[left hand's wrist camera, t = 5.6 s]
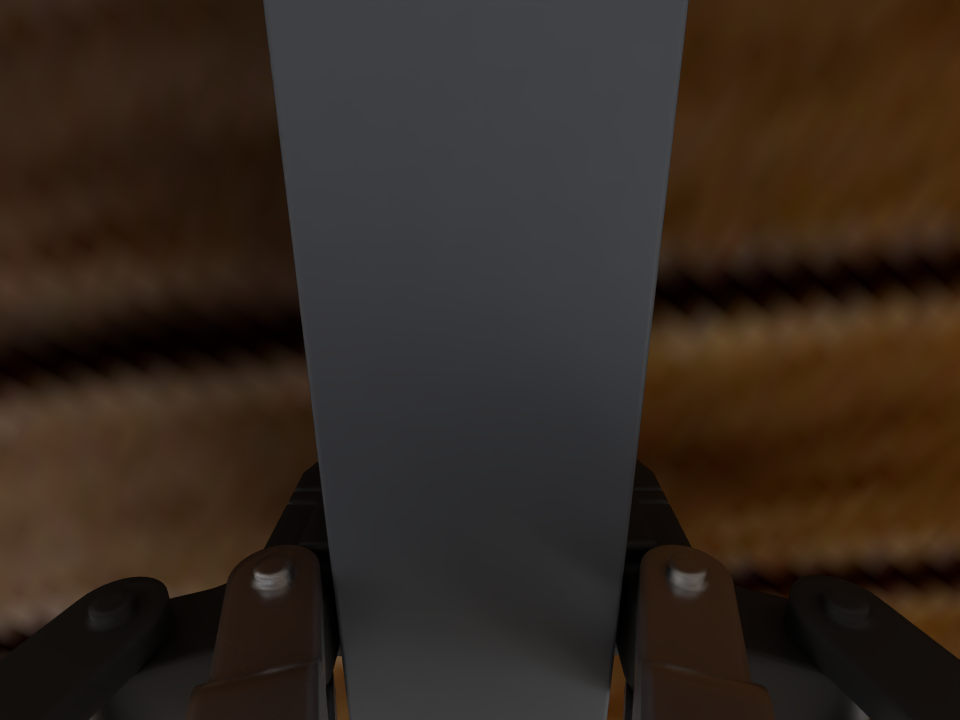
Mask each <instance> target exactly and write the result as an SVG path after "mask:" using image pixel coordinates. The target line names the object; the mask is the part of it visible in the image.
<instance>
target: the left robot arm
mask: <svg viewBox="0 0 960 720" xmlns="http://www.w3.org/2000/svg"><path fill="white" fill-rule="evenodd" d="M614 655H619V657H620V661H621V664H622V668H623V672H624V675H625V678H626V681H625V689H624V708H623V720H868V719H869V718H870V719H871V720H960V660H959V659H958V658H957V657H955V656H954V655H953V654H951V653H950V652H949V651H947V650H946V649H945V648H943V647H942V646H941V645H940V644H938V643H937V642H936V641H934V640H933V639H932V638H930V637H929V636H928V635H927V634H925V633H924V632H923V631H921V630H920V629H919V628H917V627H916V626H915V625H913V624H912V623H911V622H910V621H908V620H907V619H906V618H904V617H903V616H902V615H900V614H899V613H898V612H897V611H895V610H894V609H893V608H891V607H890V606H889V605H887V604H886V603H885V602H883V601H882V600H881V599H880V598H878V597H877V596H875V595H874V594H872V593H871V592H869V591H868V590H866V589H864V588H862V587H860V586H858V585H856V584H854V583H851V582H849V581H846V580H843V579H839V578H836V577H831V576H824V575H810V576H805V577H802V578H800V579H798V580H796V581H795V582H794V583H793V585H792V586H791V589H790V593H789V597H788V598H784V597H779V596H775V595H771V594H767V593H762V592H758V591H754V590H749V589H746V588H742V587H739V586H737V585H734V584H733V580H732V577H731V575H730V574H729V572H728V571H727V569H726V568H725V567H724V566H723V565H722V564H721V563H720V562H719V561H718V560H716V559H715V558H713V557H712V556H710V555H708V554H707V553H705V552H702V551H700V550H698V549H694V548H692V547H691V545H690V543H689V541H688V539H687V538H686V536H685V534H684V532H683V530H682V528H681V526H680V524H679V522H678V520H677V518H676V516H675V514H674V512H673V510H672V508H671V506H670V505H668V501H667V499H666V497H665V495H664V493H663V491H661V487H660V485H659V483H658V481H657V479H656V477H655V475H654V473H653V472H652V471H651V470H649V469H648V468H647V467H646V466H644V465H643V464H642V463H641V462H639V461H638V460H637V459H636V467H635V476H634V485H633V493H632V502H631V511H630V520H629V529H628V537H627V546H626V555H625V564H624V573H623V581H622V590H621V599H620V608H619V617H618V625H617V634H616V643H615V652H614ZM337 656H342V653H341V644H340V636H339V628H338V619H337V611H336V603H335V595H334V586H333V578H332V570H331V561H330V553H329V545H328V536H327V528H326V520H325V511H324V503H323V495H322V487H321V478H320V470H319V462H317V463H316V464H314V465H313V466H312V467H311V468H309V469H308V470H307V471H306V472H304V474H303V475H302V477H301V479H300V481H299V483H298V485H297V487H296V491H295V492H294V493H293V495H292V496H291V498H290V500H289V505H287V506H286V508H285V510H284V512H283V514H282V516H281V517H280V519H279V521H278V523H277V525H276V527H275V529H274V531H273V533H272V535H271V536H270V538H269V540H268V542H267V544H266V546H265V548H264V549H263V550H260V551H258V552H255V553H253V554H252V555H250V556H248V557H247V558H245V559H244V560H242V561H241V562H240V563H239V564H238V565H237V566H236V567H235V568H234V569H233V571H232V572H231V574H230V575H229V577H228V581H227V583H226V584H224V585H221V586H218V587H216V588H212V589H209V590H205V591H201V592H197V593H192V594H188V595H184V596H179V597H175V598H171V599H169V595H168V591H167V588H166V586H165V585H164V584H163V583H162V582H161V581H159V580H157V579H154V578H149V577H131V578H125V579H121V580H117V581H114V582H111V583H108V584H106V585H103V586H101V587H99V588H97V589H95V590H93V591H91V592H90V593H88V594H86V595H85V596H83V597H82V598H81V599H79V600H78V601H77V602H75V603H74V604H73V605H71V606H70V607H69V608H67V609H66V610H65V611H63V612H62V613H61V614H60V615H58V616H57V617H56V618H54V619H53V620H52V621H50V622H49V623H48V624H47V625H45V626H44V627H43V628H41V629H40V630H39V631H37V632H36V633H35V634H33V635H32V636H31V637H30V638H28V639H27V640H26V641H24V642H23V643H22V644H20V645H19V646H18V647H16V648H15V649H14V650H13V651H11V652H10V653H9V654H7V655H6V656H5V657H3V658H2V659H1V660H0V720H337V708H336V689H335V681H334V673H333V669H334V665H335V661H336V658H337Z"/></svg>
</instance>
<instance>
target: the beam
mask: <svg viewBox="0 0 960 720" xmlns="http://www.w3.org/2000/svg"><path fill="white" fill-rule="evenodd" d="M688 1H689V0H263V5H264V13H265V22H266V30H267V38H268V47H269V55H270V63H271V72H272V80H273V88H274V96H275V105H276V113H277V121H278V130H279V138H280V146H281V155H282V163H283V171H284V179H285V188H286V196H287V204H288V213H289V221H290V229H291V238H292V246H293V254H294V262H295V271H296V279H297V287H298V296H299V304H300V312H301V321H302V329H303V337H304V345H305V354H306V362H307V370H308V379H309V387H310V395H311V404H312V412H313V420H314V428H315V437H316V445H317V453H318V462H319V470H320V478H321V487H322V495H323V503H324V511H325V520H326V528H327V536H328V545H329V553H330V561H331V570H332V578H333V586H334V595H335V603H336V611H337V619H338V628H339V636H340V644H341V653H342V661H343V669H344V678H345V686H346V694H347V702H348V711H349V719H350V720H607V713H608V705H609V696H610V687H611V678H612V669H613V661H614V652H615V643H616V634H617V625H618V617H619V608H620V599H621V590H622V581H623V573H624V564H625V555H626V546H627V537H628V529H629V520H630V511H631V502H632V493H633V485H634V476H635V467H636V458H637V449H638V441H639V432H640V423H641V414H642V405H643V397H644V388H645V379H646V370H647V361H648V353H649V344H650V335H651V326H652V317H653V309H654V300H655V291H656V282H657V274H658V265H659V256H660V247H661V238H662V230H663V221H664V212H665V203H666V194H667V186H668V177H669V168H670V159H671V150H672V142H673V133H674V124H675V115H676V106H677V98H678V89H679V80H680V71H681V62H682V54H683V45H684V36H685V27H686V18H687V10H688Z"/></svg>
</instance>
